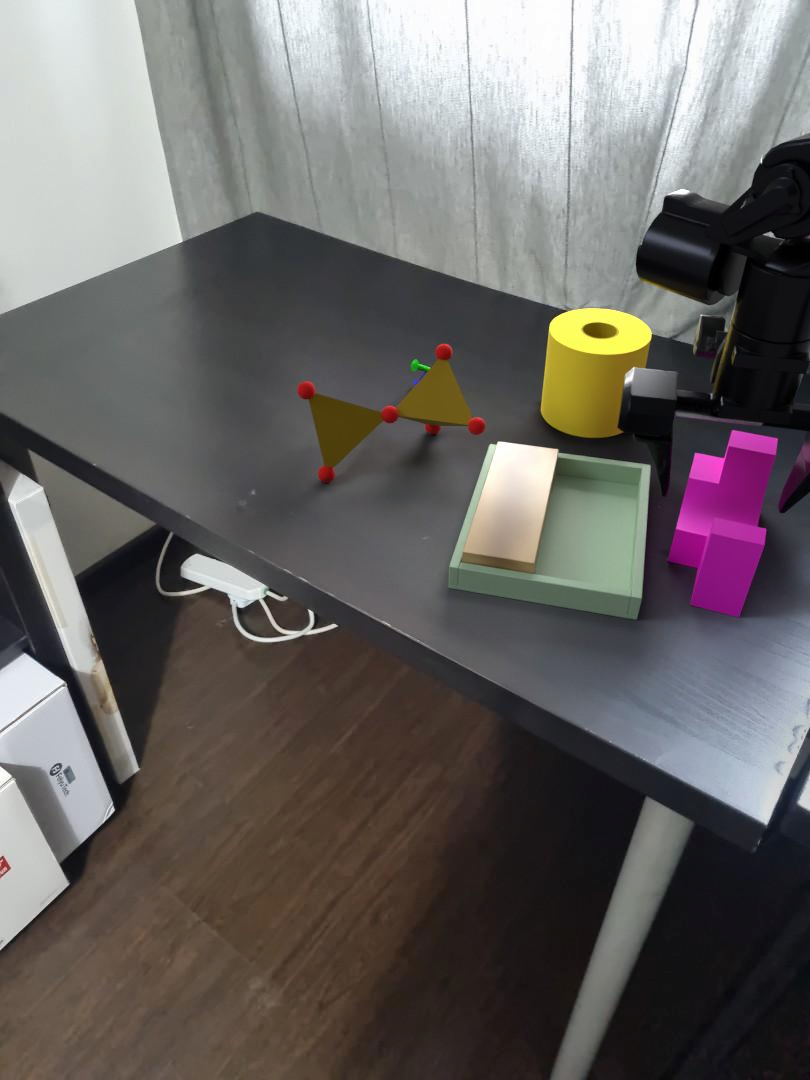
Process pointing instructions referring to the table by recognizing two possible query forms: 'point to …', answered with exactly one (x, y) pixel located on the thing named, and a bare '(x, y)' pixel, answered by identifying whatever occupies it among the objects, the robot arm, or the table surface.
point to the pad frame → (576, 541)
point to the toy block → (724, 521)
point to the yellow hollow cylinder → (590, 369)
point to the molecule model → (389, 412)
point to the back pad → (512, 508)
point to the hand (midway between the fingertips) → (721, 501)
